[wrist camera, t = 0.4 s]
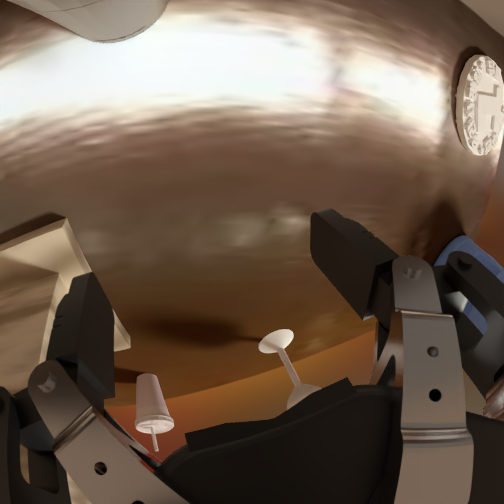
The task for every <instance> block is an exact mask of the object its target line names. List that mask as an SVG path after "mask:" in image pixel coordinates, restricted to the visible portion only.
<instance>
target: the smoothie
mask: <svg viewBox="0 0 504 504" xmlns="http://www.w3.org/2000/svg"><path fill="white" fill-rule="evenodd" d="M135 426H136V429H137V430H138V431H140V432H143V433H152V438H153V444H154V448H155V451H158V446H157V441H156V437H155V433H162V432H166V431H169V430H171V429H172V428H173V427H174V424H173V419H172V418H170V416H169V413H168V410H167V407H166V404H165V401H164V398H163V395H162V392H161V389H160V386H159V382H158V379H157V377H156V376H155V375H154V374H150V373H145V374H141V375H139V376H138V377H137V391H136V421H135Z"/></svg>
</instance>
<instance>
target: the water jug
mask: <svg viewBox="0 0 504 504" xmlns="http://www.w3.org/2000/svg"><path fill="white" fill-rule="evenodd" d="M453 251H463V252H466V253H468V254H470V255H472V256H474V257H475V258H476V259H477V260H478V261H479V262H481V263H482V264H483V265H484V266H485V267H486V268H487V269H488V270H490V271H491V272H492V273H493V274H494V275H495V276H496V277H497V278H498V279H499V280H500V281H501V282H502V283H504V268H502V267H501V266H500V265H499V264H498V263H497V262H496V261H495V259H493V258H492V257H491V256H490V255H488V254H487V253H485V252H484V251H483V250H482V249H481V248H480V247H478V246H477V245H476V244H475V243H474V242H473V241H472V240H471V239H470V238H469V237H467V236H464V235H462V236H459V237H457V238H455V239H454V240H452V241H451V242H450V243H449V244H448V245H447V246H446V247H445V249H444V250H443V251H442V252H441V254H440V255H439V257H438V258H437V260H436V262H435V264H434V266H439V265H445V264H446V261H447V258H448V255H449V254H450V253H451V252H453ZM463 313H464V314H465V315H466V316H467V317H468V318H469V319H470V320H471V321H472V323H473V324H474V325H475V326H476V327H477V328H478V329H479V331H480V332H481V333H482V334H483V335H484V334H485V332H486V330H487V322H486V319H485V318H484V317H483V315H482V314H481V313H480V312H479V311H478V310H477V309H476V308H475V307H474V306H473V305H472V304H471V303H470V302H469V301H468V302H467V304H466V306H465V308H464V310H463Z"/></svg>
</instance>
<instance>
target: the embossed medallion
mask: <svg viewBox="0 0 504 504" xmlns="http://www.w3.org/2000/svg"><path fill="white" fill-rule="evenodd" d="M468 59H469V60H468V61H467V62H466V64H465V66H464V69H463V71H462V73H461V75H460V80H459V85H458V86H457V93H456V94H455V97H456V98H457V102H456V118H457V119H456V123H457V128H458V133H459V136H460V139H461V142H462V144H463V146H464V147H465V148H466V149H467V150H468V151H469V152H471V153H473V154H475V155H483V154H485V155H487V152H489V151H490V150H491V147H492V146H493V147H495V145H496V143H497V141H498V135H499V133H500V130H501V126H502V122H503V118H504V84H503V80H502V76H501V69H500V68H499V67H498V66H497V65H496V63H495V62H494V60H492V59H490V58H489V57H488V56H484V55H474V56H472V57H471V58H468Z"/></svg>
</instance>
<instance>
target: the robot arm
mask: <svg viewBox="0 0 504 504" xmlns="http://www.w3.org/2000/svg"><path fill="white" fill-rule="evenodd" d="M8 1H10V2H13V3H15V4H17V5H20V6H22V7H24V8H27V9H29V10H31V11H34V12H36V13H38V14H40V15H42V16H44V17H46V18H48V19H50V20H52V21H54V22H56V23H58V24H60V25H62V26H64V27H65V28H67V29H69V30H71V31H73V32H75V33H76V34H78V35H80V36H82V37H84V38H86V39H88V40H91V41H93V42H99V43H114V42H119V41H124V40H127V39H129V38H132V37H135V36H136V35H138V34H140V33H142V32H144V31H145V30H146V29H148V28H149V27H150V26H152V25H153V24H154V23H155V22H156V21H157V20H158V19H159V18H160V16H161V15H162V13H163V12H164V10H165V9H166V6H167V4H168V1H169V0H8ZM310 250H311V255H312V258H313V260H314V262H315V264H316V265H317V266H318V267H319V268H320V270H321V271H322V272H323V273H324V274H325V276H326V277H327V278H328V279H329V280H330V281H331V283H332V284H333V285H334V286H335V287H336V289H337V290H338V291H339V292H340V293H341V295H342V296H343V297H344V298H345V299H346V301H347V302H348V303H349V304H350V305H351V307H352V308H353V309H354V310H355V311H356V313H357V314H358V315H359V316H360V318H361V319H362V320H366V319H368V318H370V317H372V316H375V317H376V318H377V322H376V330H375V332H376V333H375V349H374V364H373V371H372V376H371V379H370V383H369V385H356V386H352V384H351V383H350V381H349V380H348V378H347V377H346V378H344V379H343V380H340V381H338V382H336V383H334V384H331V385H329V386H327V387H325V388H322V389H320V390H318V391H315V392H313V393H311V394H309V395H308V396H306V397H305V398H304V399H302V400H301V401H300V402H298V403H297V404H295V405H294V406H292V407H291V408H289V409H288V410H287V411H285V412H284V413H282V414H281V415H279V416H278V417H276V418H273V419H269V420H260V421H249V422H236V423H224V424H221V425H217V426H214V427H210V428H206V429H202V430H198V431H193V432H189V433H185V437H186V441H187V444H186V445H184V446H182V447H180V448H179V449H177V450H176V451H174V452H173V453H172V454H170V455H169V456H168V457H167V458H166V459H165V460H164V461H163V462H161V461H160V460H159V459H157V458H156V457H155V456H154V455H152V454H151V453H150V452H149V451H147V450H146V449H145V448H144V447H142V446H141V445H140V444H139V443H138V442H137V441H136V440H135V439H134V438H133V437H132V436H131V435H130V434H129V433H128V432H127V431H126V430H124V428H123V427H122V426H121V425H120V424H119V423H118V422H117V421H116V420H115V419H114V418H113V417H112V416H111V415H110V414H109V413H108V412H107V410H105V409H104V399H108V398H114V397H115V383H114V326H115V318H114V313H113V309H112V306H111V304H110V302H109V300H108V299H107V297H106V295H105V293H104V291H103V289H102V287H101V285H100V283H99V281H98V279H97V277H96V276H95V274H94V273H93V272H89V273H86V274H83V275H79V276H76V277H73V279H72V281H71V285H70V289H69V292H68V294H65V295H64V296H63V298H62V300H61V301H60V303H59V304H58V306H57V309H56V313H55V319H54V321H53V326H52V327H53V329H52V330H51V335H50V339H49V344H48V349H47V355H46V360H45V361H44V362H42V363H40V364H39V365H38V366H36V367H35V369H34V370H33V371H32V373H31V374H30V377H29V380H28V387H26V388H25V389H23V390H21V391H19V392H17V393H15V394H13V395H12V394H11V393H10V392H9V391H8V390H7V389H6V388H4V387H2V386H0V504H72V503H71V497H70V492H69V486H68V479H67V473H68V474H69V476H70V477H71V478H72V480H73V481H74V482H75V484H76V485H77V486H78V487H79V489H80V490H81V491H82V492H83V494H84V495H85V496H86V497H87V499H88V500H89V501H90V502H91V503H92V504H504V283H502V282H501V281H500V280H499V279H498V278H497V277H496V276H495V275H494V274H493V273H492V272H491V271H490V270H488V269H487V268H486V267H485V266H484V265H483V264H482V263H481V262H479V261H478V260H477V259H476V258H475V257H474V256H472V255H470V254H468V253H466V252H463V251H453V252H451V253H450V254H449V255H448V258H447V261H446V264H445V265H439V266H430V265H429V264H428V263H427V262H426V261H424V260H423V259H421V258H418V257H415V256H409V255H405V256H399V255H397V254H396V253H395V252H394V251H393V250H392V249H390V248H389V247H388V246H387V245H386V244H384V243H383V242H382V241H381V240H380V239H378V238H377V237H376V238H375V235H373V234H372V233H371V232H370V231H369V232H368V230H367V229H366V228H365V227H363V226H362V225H361V224H360V223H358V222H355V221H353V220H351V219H348V218H344V217H343V216H342V215H340V214H339V213H338V212H336V211H335V210H334V209H332V208H330V209H326V210H322V211H318V212H314V213H312V215H311V234H310ZM468 301H469V302H470V303H471V304H472V305H473V306H474V307H475V308H476V309H477V310H478V311H479V312H480V313H481V314H482V315H483V317H484V318H485V319H486V322H487V330H486V332H485V334H484V335H483V334H482V333H481V332H480V331H479V329H478V328H477V327H476V326H475V325H474V324H473V323H472V321H471V320H470V319H469V318H468V317H467V316H466V315H465V314H464V313H463V310H464V308H465V306H466V304H467V302H468ZM462 368H463V369H464V371H465V372H466V373H467V375H468V376H469V377H470V378H471V380H472V381H473V383H474V384H475V386H476V387H477V388H478V390H479V391H480V393H481V394H482V395H483V397H484V398H485V400H486V406H485V407H484V408H483V416H482V415H478V414H474V413H470V412H467V411H465V393H464V381H463V372H462ZM20 445H22V446H23V447H25V448H27V451H28V470H29V482H30V484H29V483H28V482H27V481H26V480H25V479H24V477H23V475H22V473H21V464H20ZM66 471H67V472H66Z"/></svg>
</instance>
